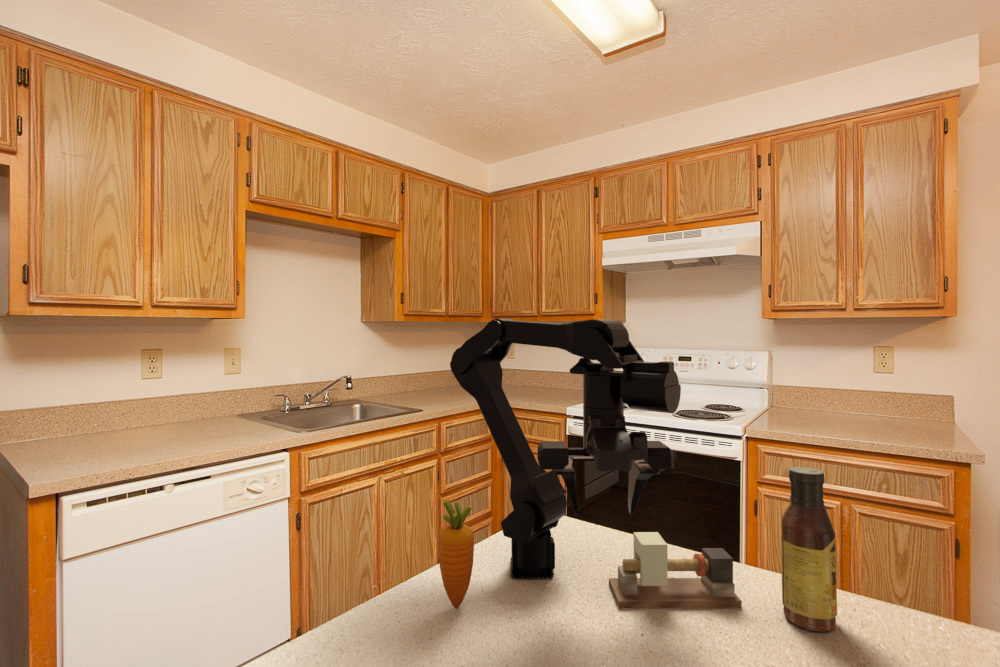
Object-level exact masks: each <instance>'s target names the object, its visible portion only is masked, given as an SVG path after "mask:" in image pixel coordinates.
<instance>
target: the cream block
mask: <svg viewBox="0 0 1000 667" xmlns="http://www.w3.org/2000/svg"><path fill="white" fill-rule="evenodd" d="M633 559H640V571H635V573H636V575H639V578H640V583H641V585H642V586H667V578H668V571H667V559H668V543H667V542H666V541H665V540H664V538H663V537H662V535H661V534H660V533H659V532H658V531H636V532H635V531H634V532H633Z"/></svg>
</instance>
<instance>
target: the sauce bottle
mask: <svg viewBox="0 0 1000 667" xmlns="http://www.w3.org/2000/svg"><path fill="white" fill-rule="evenodd" d="M788 478H789V481H790V482H789V483H790V496H789V500H790V503H789V505H788V507H787V508H786V509H785V510H784V511H783V514H782V517H781V536H780V543H781V544H780V555H781V557H780V559H781V560H780V561H781V602H782V605H783V607H782V609H783V614H784V617H785V618H786V619H787V620H788V621H789V622H791V623H793V624H794V625H795V626H798V627H800V628H802V629H805V630H808V631H813V632H819V633H820V632H821V633H824V632H825V633H826V632H829V631H832V630H834V628H835V627H836V623H837V621H836V618H837V616H838V598H837V597H838V594H837V588H838V587H837V585H838V584H837V581H838V580H837V550H836V549H837V546H836V545H837V544H836V543H837V541H836V539H837V538H836V537H837V536H836V532H835V529H834V527H833V524H832V522H831V518H830V516H829V513H828V511H827V509H826V506H825V501H824V484H825V482H826V481H825V473H824V471H823V470H821V469H819V468H818V469H817V468H813V467H807V466H792V467H789V469H788Z"/></svg>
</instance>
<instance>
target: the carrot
mask: <svg viewBox="0 0 1000 667" xmlns="http://www.w3.org/2000/svg"><path fill="white" fill-rule="evenodd" d="M453 504H454V506H453V505H452V502H451V501H450V499H446V500H444V501H443V506H444V508H445V510H446V511H447V513H448V515H447V514H443V515H442V519H444V520H445V521H446V522H447V523H448V524H446V525H445V526H444V527H443V528H442V529H441V530H439V531H438V537H437V538H438V539H437V540H438V541H437V542H438V543H437V544H438V546H437V547H438V564H439V569H440V570H439V571H440V575H441V580H442V585H443V587H444V590H445V593H446V596H447V597H448V599H449V601H450V603H451V605H452V607H454V609H458V608H460V606H461V605H462V603H463V601H464V599H465V596H466V595H467V591H468V590H469V586H470V582H471V577H472V573H473V572H472V571H473V566H474V553H475V552H474V551H475V550H474V548H475V534H474V531H473V530H472V529H471V528H470V527H469V526H468V525H467V524H465V521H466V519H467V517H468V515H469V513H470V512H471V511H472V508H473V507H472V506H471V505H466V506H465V507H464V509H463V510H462V506H461V503H460V502H454V503H453ZM454 507H455V509H454Z"/></svg>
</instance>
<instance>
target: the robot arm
mask: <svg viewBox="0 0 1000 667" xmlns="http://www.w3.org/2000/svg"><path fill="white" fill-rule="evenodd" d="M513 344H518V345H528V346H538V347H546V348H556V349H561V350H563V351H566V352H567V353H570V354H571V355H574V356H578V357H581V358H579V359H578V361H577V363H575V365H573V366H572V367H571V368H570V369H569V373H570V374H572V375H582V381H583V382H582V389H583V391H582V392H583V393H582V394H583V395H582V397H583V400H582V401H583V404H582V406H583V408H582V409H583V410H582V412H583V415H582V416H583V417H582V418H583V419H582V423H583V425H582V430H583V431H582V432H583V436H582V437H583V438H582V439H583V440H582V441H583V443H582V444H583V447H568V446H567V444H566V443H565V441H564V440H563V441H562V440H560V441H559V440H556V441H555V440H554V441H553V440H551V441H550V440H549V441H548V440H545V441H540V442H539V443H538V444H537V459H536V457H535V455H534V453H533V451H532V448H531V446H530V444H529V443H528V440H527V438H526V436H525V433H524V432H523V430H522V427H521V425H520V423H519V421H518V418H517V417H516V415H515V412H514V411H513V408H512V406H511V404H510V401H509V399H508V398H507V395H506V394H505V392H504V388H503V373H504V372H503V368H502V365H501V362H502V361H503V360H504V359H505V358H506V357H507V356H508V354H509V351H510V349H511V347H512V345H513ZM593 361H597V362H593ZM449 367H450V371H451V372H452V374H453V377H454V379H456V381H457V382H458V385H459V386H460V387H461V388H462V389H463V390H465V392H467V393H468V394H469V395H470V396H471V397H473V398H474V400H475V401H476V403H477V405H478V408H479V410H480V412H481V414H482V416H483V419H484V421H485V423H486V425H487V428H488V430H489V432H490V435H491V437H492V439H493V441H494V444H495V446H496V448H497V450H498V452H499V454H500V457H501V459H502V462H503V463H504V465H505V468H506V471H507V472H508V474H509V478H510V489H509V490H510V491H509V499H510V502H511V505H512V511H511V512H510V513H509V514H508V515H507V516H506V517H505V518H504V519H502V520H501V522H500V527H501V530H502V533H503V534H502V535H503V536H504V537H506V538H508V539H510V540H511V557H510V578H512V579H519V580H520V579H523V580H524V579H525V580H526V579H553V578H554V573H553V570H555V569H556V553H555V552H556V544H555V540H554V539H555V538H554V537H553V536H552V532H551V529H554V528H556V527H557V526H558V525H559V521H560V519H561V518H563V516H564V515H565V514H566V511H567V507H568V500H567V497H566V494H567V493H568V496H569V499H570V500H569V501H570V502H571V506H572V507H571V508H572V509H573V512H574V515H575V516H578V515H579V499H578V491H577V483H576V471H575V468H574V467H573V462H594V466H595V468H596V469H597V471H600V472H609V471H622V472H628V489H627V507H628V513H629V515H630V516H631V515H632V516H633V515H634V514H635V512H636V508H637V505H638V503H639V500H640V497H641V495H642V492H643V490H644V488H645V486H646V484H647V482H648V480H649V479H651V477H652V476H654V475H656V476H657V475H660V472H661V470H672V469H674V468H675V455H674V451H673V450H672V449H671V448H670V447H669V446H667V445H666V444H665V443H664V442H662V441H661V440H648V436H647V434H646V432H645V431H631V432H628V429H627V427H626V420H625V419H626V417H625V416H624V414H625V413H624V411H625V409H624V404H626V405H627V407H628V408H629V409H630V410H634V411H635V410H637V411H646V412H656V413H657V412H658V413H663V414H664V413H666V414H674V413H676V411H677V409H678V407H679V404H680V401H681V390H682V389H681V384H680V382H679V381H680V380H679V376H678V375H677V372H676V371H675V363H674V361H668V360H667V361H666V360H665V361H664V360H663V361H658V362H657V361H655V362H653V361H652V362H651V361H645V360H644V359H643V357H642V355H641V354H640V353H639V352H638V351H637V349H636V347H635V346H634V344H633V343H632V342H631V341H630V335H629V332H628V329H627V327H626V326H625V325H624V324H623V322H621V321H619V320H617V319H597V318H596V319H585V320H579V321H571V322H568V323H553V322H552V323H551V322H541V321H540V322H539V321H525V320H524V321H523V320H514V319H513V318H493V319H492V320H490V321H488V322H487V323H486V325H485V326H484V327H483V328H482V329H481V330H480V331H478V332H477V333H475V334H474V335H473V336H471V337H470V338H468V339H467V340H466V341H464V342H463V343H462V345H461V346H459V347H458V348H456V349H455V351H453V353H452V356H451V360H450V362H449ZM615 369H616V370H615ZM620 369H622V370H620ZM537 461H538V462H537ZM559 476H561V478H562V480H563V482H564V484H565V488H566V489H565V488H564V487H563V485H562V483H561V480H560V478H559Z"/></svg>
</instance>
